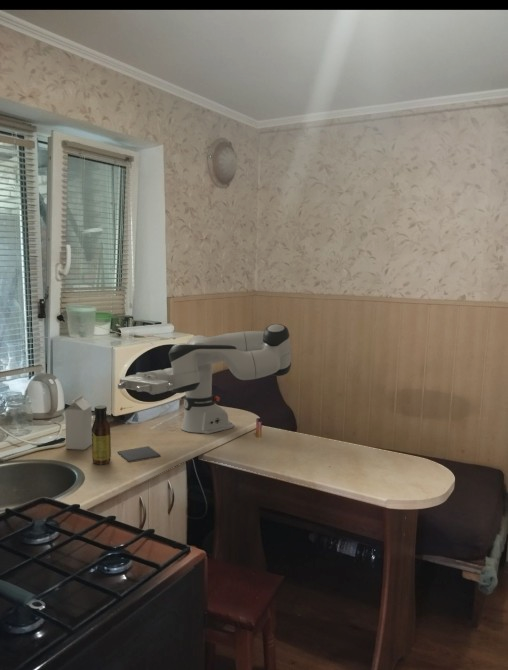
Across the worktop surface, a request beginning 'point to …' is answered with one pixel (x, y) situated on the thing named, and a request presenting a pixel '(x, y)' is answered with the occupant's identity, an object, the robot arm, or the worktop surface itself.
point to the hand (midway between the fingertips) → (128, 388)
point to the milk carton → (78, 424)
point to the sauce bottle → (101, 437)
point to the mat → (138, 454)
